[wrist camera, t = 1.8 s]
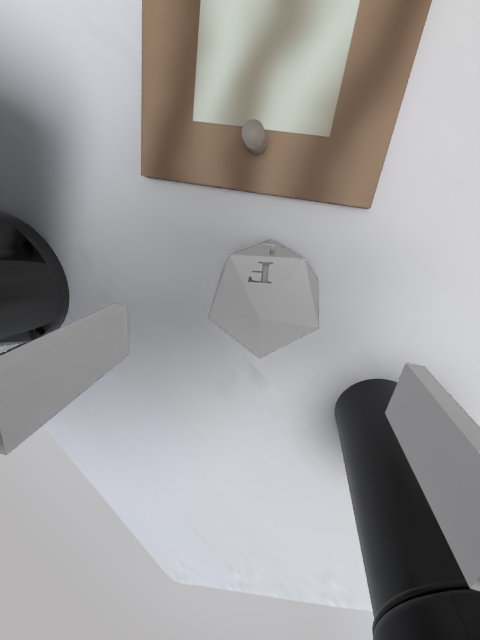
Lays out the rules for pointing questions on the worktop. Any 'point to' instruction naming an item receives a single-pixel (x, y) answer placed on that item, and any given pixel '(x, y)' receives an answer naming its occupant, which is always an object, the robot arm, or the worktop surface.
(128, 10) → the worktop surface
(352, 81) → the nest board
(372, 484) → the water bottle
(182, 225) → the worktop surface
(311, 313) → the die
